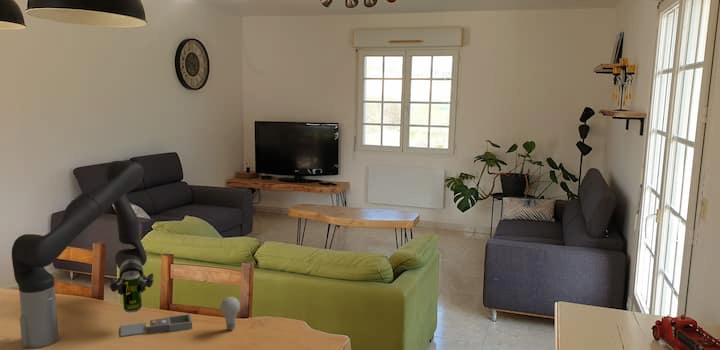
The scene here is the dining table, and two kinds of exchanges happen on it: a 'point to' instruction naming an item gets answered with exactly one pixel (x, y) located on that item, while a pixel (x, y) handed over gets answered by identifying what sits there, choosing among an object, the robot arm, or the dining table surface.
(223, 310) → the lightbulb
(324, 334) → the dining table surface
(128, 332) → the slate mat
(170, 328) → the grey button tray
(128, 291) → the beer can
